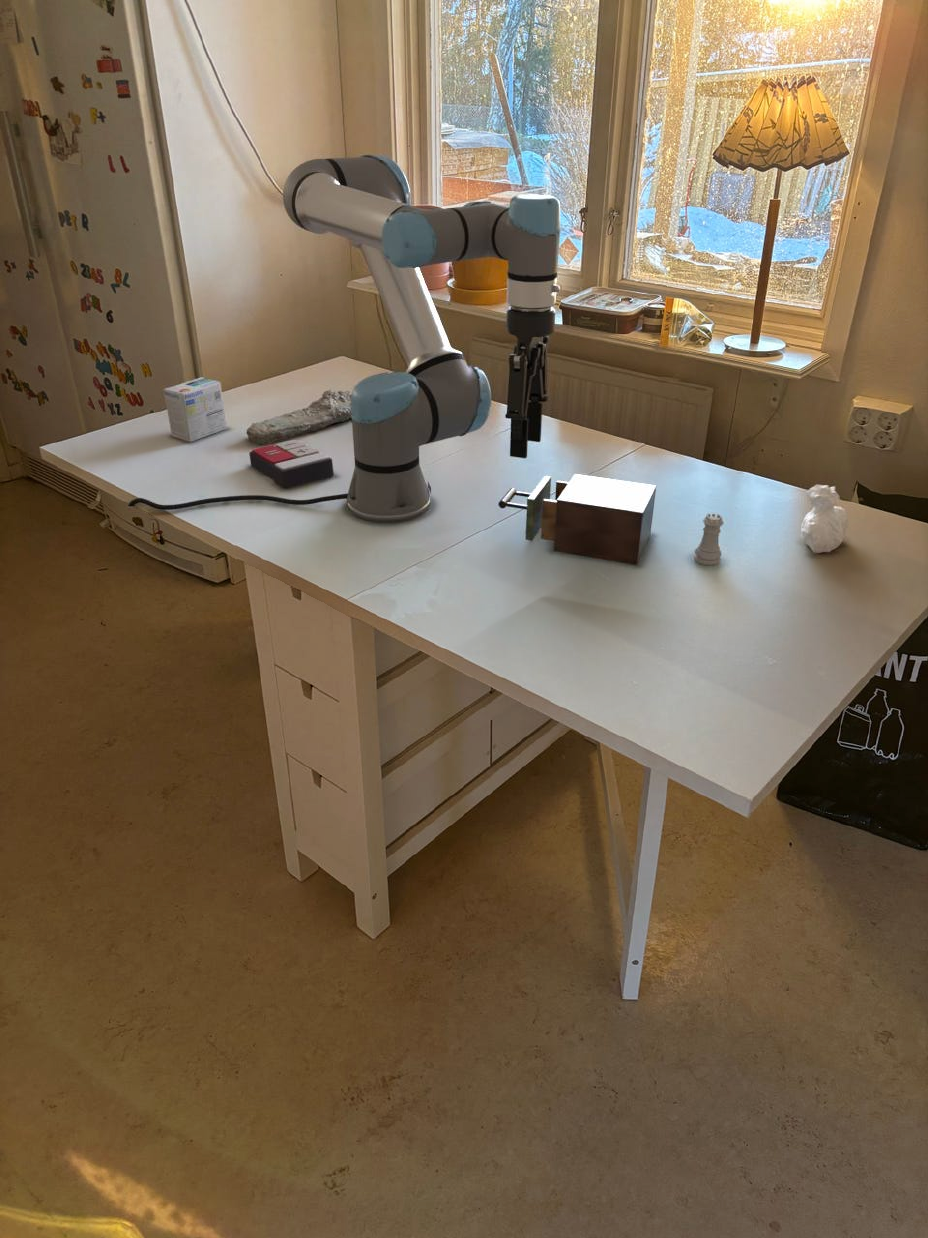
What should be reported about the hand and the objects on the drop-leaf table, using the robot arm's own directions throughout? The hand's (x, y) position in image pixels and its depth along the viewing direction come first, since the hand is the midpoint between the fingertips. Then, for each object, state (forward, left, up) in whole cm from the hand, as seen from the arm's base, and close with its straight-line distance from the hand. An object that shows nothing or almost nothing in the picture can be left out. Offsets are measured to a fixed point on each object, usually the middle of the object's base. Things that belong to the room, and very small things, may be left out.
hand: (525, 448), depth 151 cm
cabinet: (+14, 0, -15) cm, 21 cm away
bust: (+49, +13, -15) cm, 53 cm away
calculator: (-51, +9, -15) cm, 54 cm away
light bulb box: (-81, +21, -15) cm, 85 cm away
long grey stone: (-60, +35, -15) cm, 71 cm away
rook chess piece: (+32, 0, -15) cm, 35 cm away
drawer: (+6, 0, -14) cm, 15 cm away
